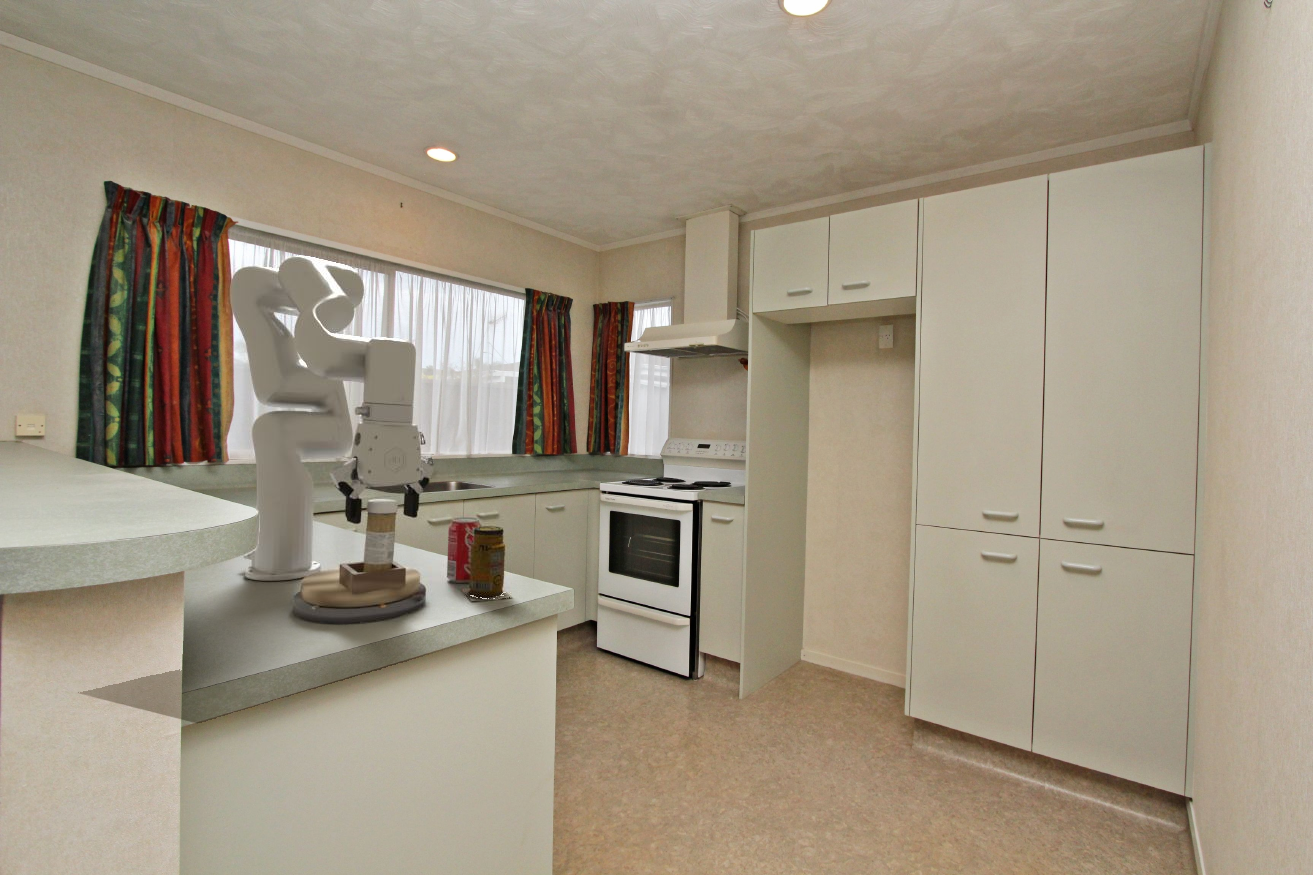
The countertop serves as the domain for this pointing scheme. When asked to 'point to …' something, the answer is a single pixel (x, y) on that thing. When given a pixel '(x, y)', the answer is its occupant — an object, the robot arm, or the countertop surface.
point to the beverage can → (460, 548)
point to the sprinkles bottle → (380, 534)
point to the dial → (359, 585)
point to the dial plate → (358, 610)
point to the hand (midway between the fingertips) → (383, 519)
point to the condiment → (487, 564)
